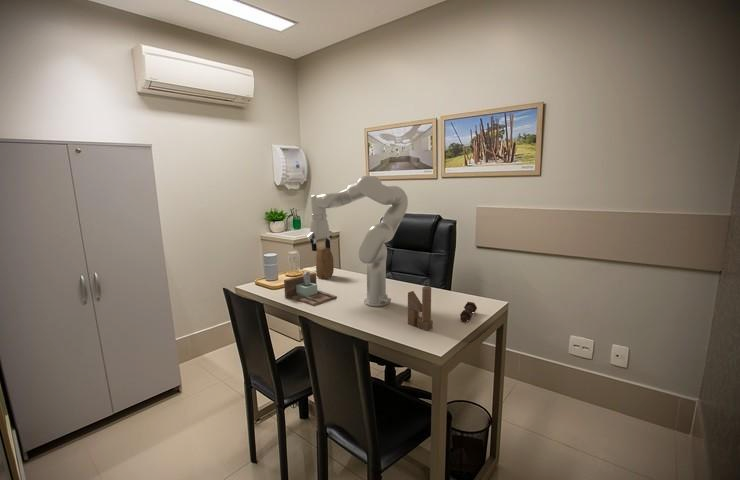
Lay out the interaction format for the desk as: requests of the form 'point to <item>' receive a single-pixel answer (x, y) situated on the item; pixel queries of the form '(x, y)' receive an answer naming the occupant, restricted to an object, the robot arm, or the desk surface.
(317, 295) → the backstop board
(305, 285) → the peg
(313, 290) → the teal square socket
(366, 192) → the robot arm
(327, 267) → the brown tall rounded block
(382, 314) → the desk surface
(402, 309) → the desk surface
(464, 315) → the dumbbell
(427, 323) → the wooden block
